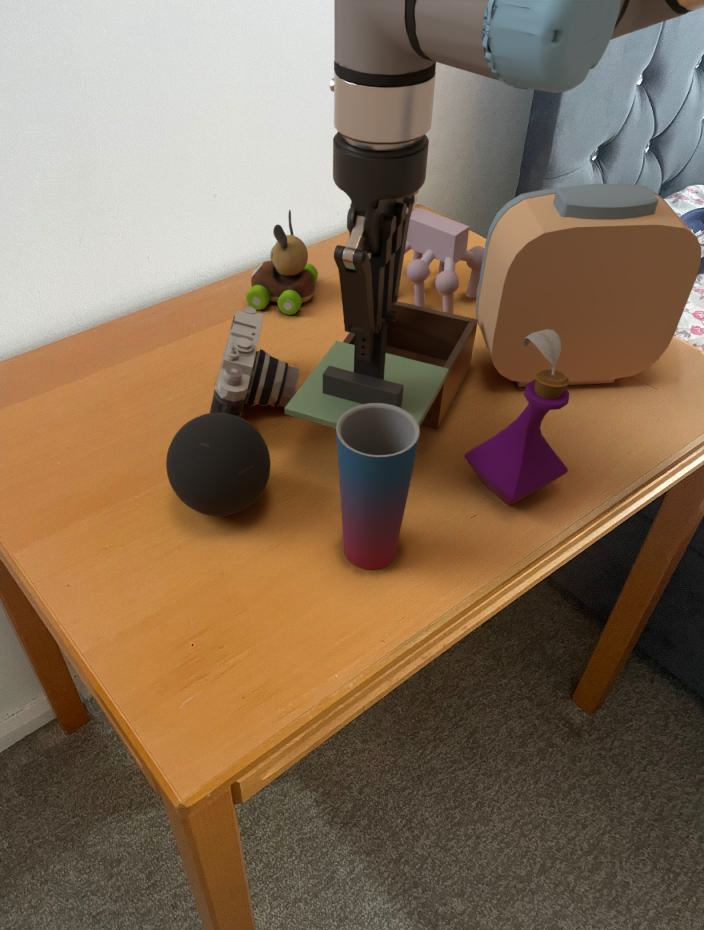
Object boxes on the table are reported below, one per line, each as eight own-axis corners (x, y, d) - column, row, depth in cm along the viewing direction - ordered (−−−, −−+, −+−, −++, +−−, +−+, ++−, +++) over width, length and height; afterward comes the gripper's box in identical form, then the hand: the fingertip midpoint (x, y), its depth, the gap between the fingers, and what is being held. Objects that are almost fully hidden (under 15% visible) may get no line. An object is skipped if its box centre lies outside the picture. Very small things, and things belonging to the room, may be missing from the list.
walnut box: (469, 367, 92) (478, 319, 87) (437, 428, 84) (444, 379, 79) (374, 344, 96) (376, 296, 91) (334, 400, 88) (335, 351, 83)
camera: (278, 463, 83) (301, 393, 76) (201, 443, 81) (217, 371, 74) (291, 377, 94) (312, 309, 87) (223, 359, 92) (239, 289, 85)
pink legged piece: (329, 278, 107) (329, 182, 97) (376, 251, 113) (381, 157, 103) (443, 330, 98) (457, 230, 88) (489, 298, 103) (507, 200, 94)
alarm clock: (626, 341, 96) (685, 168, 81) (653, 386, 90) (723, 208, 74) (466, 347, 95) (495, 173, 80) (482, 393, 89) (517, 214, 73)
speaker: (190, 462, 81) (177, 386, 73) (281, 472, 79) (277, 397, 72) (161, 530, 74) (143, 454, 67) (260, 543, 73) (253, 467, 65)
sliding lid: (448, 374, 80) (452, 349, 77) (407, 449, 72) (409, 423, 69) (336, 346, 84) (336, 321, 81) (284, 414, 75) (283, 388, 73)
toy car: (264, 275, 108) (259, 198, 100) (323, 284, 106) (323, 206, 98) (241, 308, 102) (234, 229, 94) (304, 318, 100) (302, 238, 92)
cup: (327, 569, 70) (327, 449, 60) (342, 518, 75) (345, 397, 64) (399, 583, 69) (412, 463, 58) (410, 529, 74) (425, 409, 63)
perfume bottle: (562, 493, 77) (610, 344, 64) (506, 522, 74) (545, 372, 61) (512, 452, 82) (548, 304, 69) (458, 478, 79) (485, 329, 66)
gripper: (368, 99, 64) (359, 337, 81) (301, 154, 56) (307, 407, 73) (453, 111, 62) (425, 354, 79) (396, 171, 53) (379, 427, 71)
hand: (368, 379), depth 76 cm, fingers closed
